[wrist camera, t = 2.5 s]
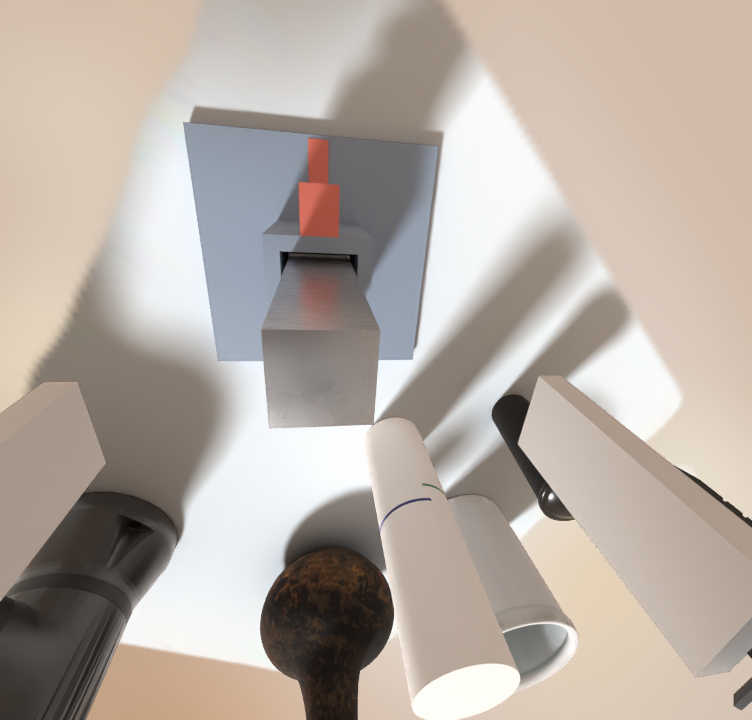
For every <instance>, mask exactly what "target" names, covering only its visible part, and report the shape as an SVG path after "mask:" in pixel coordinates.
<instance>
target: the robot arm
mask: <svg viewBox="0 0 752 720" xmlns="http://www.w3.org/2000/svg"><path fill="white" fill-rule="evenodd" d="M518 445H519V446H520V448H521V449H522V450H523V452H524V453H525V454H526V455H527V457H528V458H529V459H530V461H531V462H532V463H533V465H534V466H535V467H536V469H537V470H538V471H539V473H540V474H541V475H542V477H543V478H544V479H545V480H546V482H547V483H548V484H549V486H550V487H551V488H552V490H553V491H554V492H555V494H556V495H557V496H558V498H559V499H560V500H561V502H562V503H563V504H564V505H565V507H566V508H567V509H568V511H569V512H570V513H571V515H572V516H573V517H574V519H575V520H576V521H577V523H578V524H579V525H580V526H581V528H582V529H583V530H584V532H585V533H586V534H587V536H588V537H589V538H590V540H591V541H592V542H593V544H594V545H595V546H596V548H597V549H598V550H599V551H600V553H601V554H602V555H603V557H604V558H605V559H606V561H607V562H608V563H609V565H610V566H611V567H612V569H613V570H614V571H615V572H616V574H617V575H618V576H619V578H620V579H621V580H622V582H623V583H624V584H625V586H626V587H627V588H628V590H629V591H630V592H631V594H632V595H633V596H634V598H635V599H636V600H637V601H638V603H639V604H640V605H641V607H642V608H643V609H644V611H645V612H646V613H647V615H648V616H649V617H650V618H651V620H652V621H653V622H654V624H655V625H656V626H657V628H658V629H659V630H660V632H661V633H662V634H663V636H664V637H665V638H666V640H667V641H668V642H669V644H670V645H671V646H672V647H673V649H674V650H675V651H676V653H677V654H678V655H679V657H680V658H681V659H682V661H683V662H684V663H685V665H686V666H687V667H688V669H689V670H690V671H691V672H692V674H693V675H694V676H695V677H702V676H708V675H713V674H720V673H725V672H730V671H731V670H732V669H733V668H734V667H735V666H736V665H737V664H738V663H739V662H740V661H741V660H742V659H743V658H744V657H745V656H746V655H747V654H748V655H749V656H750V657H751V658H752V520H751V519H749V518H748V517H746V518H745V517H743V515H742V513H741V512H740V511H739V510H738V509H736V508H735V507H734V506H733V505H731V504H730V503H729V502H724V501H723V498H722V497H721V496H720V495H718V494H717V493H716V492H715V491H713V490H712V489H711V488H709V487H708V486H707V485H706V484H704V483H703V482H702V481H701V480H699V479H697V478H696V477H694V476H692V475H690V474H689V473H687V472H685V471H683V470H681V469H680V468H678V467H676V466H674V465H672V464H671V463H670V462H669V461H667V460H666V459H665V458H664V457H662V456H661V455H660V454H659V453H657V452H656V451H655V450H654V449H652V448H651V447H650V446H649V445H647V444H646V443H645V442H644V441H642V440H641V439H640V438H639V437H637V436H636V435H635V434H634V433H632V432H631V431H630V430H629V429H627V428H626V427H625V426H623V425H622V424H621V423H620V422H618V421H617V420H616V419H615V418H613V417H612V416H611V415H610V414H608V413H607V412H606V411H605V410H603V409H602V408H601V407H600V406H598V405H597V404H596V403H595V402H593V401H592V400H591V399H590V398H588V397H587V396H586V395H585V394H583V393H582V392H581V391H580V390H578V389H577V388H576V387H575V386H573V385H572V384H571V383H570V382H568V381H567V380H566V379H564V378H563V377H562V376H561V375H543V376H538V379H537V383H536V386H535V389H534V392H533V396H532V399H531V402H530V406H529V409H528V412H527V415H526V419H525V422H524V425H523V428H522V432H521V435H520V438H519V441H518ZM105 464H106V461H105V458H104V455H103V452H102V450H101V447H100V444H99V441H98V438H97V436H96V433H95V430H94V427H93V424H92V421H91V419H90V416H89V413H88V410H87V407H86V405H85V402H84V399H83V396H82V393H81V390H80V388H79V385H78V382H43V383H42V384H40V385H39V386H38V387H36V388H35V389H34V390H32V391H31V392H29V393H28V394H27V395H25V396H24V397H22V398H21V399H20V400H18V401H17V402H16V403H14V404H13V405H11V406H10V407H9V408H7V409H6V410H5V411H3V412H2V413H0V720H86V719H87V717H88V714H89V712H90V710H91V707H92V705H93V702H94V700H95V698H96V696H97V693H98V691H99V688H100V686H101V684H102V681H103V679H104V677H105V674H106V672H107V670H108V667H109V665H110V663H111V660H112V658H113V656H114V653H115V651H116V649H117V646H118V644H119V641H120V639H121V637H122V634H123V632H124V630H125V627H126V625H127V622H128V620H129V618H130V616H131V614H132V611H133V609H134V608H135V606H136V605H137V604H138V603H139V601H140V600H141V599H142V598H143V597H144V595H145V594H146V593H147V592H148V590H149V589H150V588H151V586H152V585H153V584H154V583H155V581H156V580H157V579H158V577H159V576H160V575H161V574H162V573H163V571H164V570H165V569H166V567H167V566H168V564H169V562H170V560H171V557H172V555H173V552H174V549H175V547H176V544H177V533H176V529H175V527H174V525H173V523H172V522H171V520H170V519H169V518H168V517H167V516H166V515H165V514H164V513H163V512H162V511H161V510H159V509H158V508H156V507H155V506H153V505H151V504H149V503H147V502H145V501H143V500H140V499H138V498H134V497H131V496H127V495H122V494H116V493H87V494H83V492H84V491H85V490H86V489H87V487H88V486H89V485H90V483H91V482H92V481H93V479H94V478H95V477H96V475H97V474H98V473H99V472H100V470H101V469H102V468H103V466H104V465H105ZM751 701H752V678H750V679H749V680H748V681H747V682H746V683H745V684H744V685H743V686H742V687H741V688H740V689H739V690H738V691H737V692H736V693H735V694H734V706H735V707H736V708H738V709H740V710H742V709H744V708H745V707H746V706H747V705H748V704H749V703H750V702H751Z"/></svg>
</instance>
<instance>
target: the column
mask: <svg viewBox="0 0 752 720" xmlns="http://www.w3.org/2000/svg"><path fill="white" fill-rule="evenodd" d="M288 258H289V259H288V261H287V264H286V266H285V269H284V271H283V274H282V277H281V279H280V282H279V284H278V287H277V290H276V292H275V295H274V297H273V300H272V302H271V305H270V308H269V310H268V313H267V315H266V318H265V321H264V323H263V326H262V328H261V337H262V348H263V360H264V372H265V384H266V396H267V408H268V420H269V428H295V427H321V426H347V425H373V424H374V411H375V397H376V384H377V370H378V357H379V344H380V328H379V326H378V324H377V321H376V319H375V317H374V315H373V312H372V310H371V308H370V305H369V303H368V301H367V299H366V296H365V294H364V292H363V289H362V287H361V285H360V283H359V280H358V278H357V276H356V274H355V271H354V269H353V267H352V264H351V262H350V255H348V254H332V253H308V252H289V253H288Z"/></svg>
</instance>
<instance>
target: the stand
mask: <svg viewBox="0 0 752 720" xmlns="http://www.w3.org/2000/svg"><path fill="white" fill-rule="evenodd" d="M183 124H184V131H185V138H186V145H187V152H188V159H189V165H190V172H191V179H192V186H193V193H194V200H195V206H196V213H197V220H198V227H199V234H200V241H201V247H202V254H203V261H204V268H205V275H206V282H207V288H208V295H209V302H210V309H211V316H212V322H213V329H214V336H215V343H216V350H217V357H218V361H264V360H263V348H262V337H261V328H262V326H263V323H264V321H265V318H266V315H267V313H268V310H269V308H270V305H271V302H272V300H273V297H274V295H275V292H276V290H277V287H278V284H279V282H280V279H281V277H282V274H283V271H284V269H285V266H286V264H287V261H288V259H289V258H288V253H289V252H308V253H332V254H348V255H350V262H351V264H352V267H353V269H354V271H355V274H356V276H357V278H358V280H359V283H360V285H361V287H362V289H363V292H364V294H365V296H366V299H367V301H368V303H369V305H370V308H371V310H372V312H373V315H374V317H375V319H376V321H377V324H378V326H379V328H380V344H379V357H378V360H413V352H414V343H415V335H416V327H417V319H418V311H419V302H420V294H421V286H422V278H423V270H424V261H425V253H426V245H427V237H428V229H429V220H430V212H431V204H432V196H433V188H434V179H435V171H436V163H437V155H438V147H439V146H430V145H419V144H409V143H398V142H387V141H377V140H366V139H356V138H345V137H335V136H324V135H313V134H303V133H292V132H282V131H271V130H261V129H250V128H239V127H229V126H218V125H208V124H197V123H187V122H183Z"/></svg>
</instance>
